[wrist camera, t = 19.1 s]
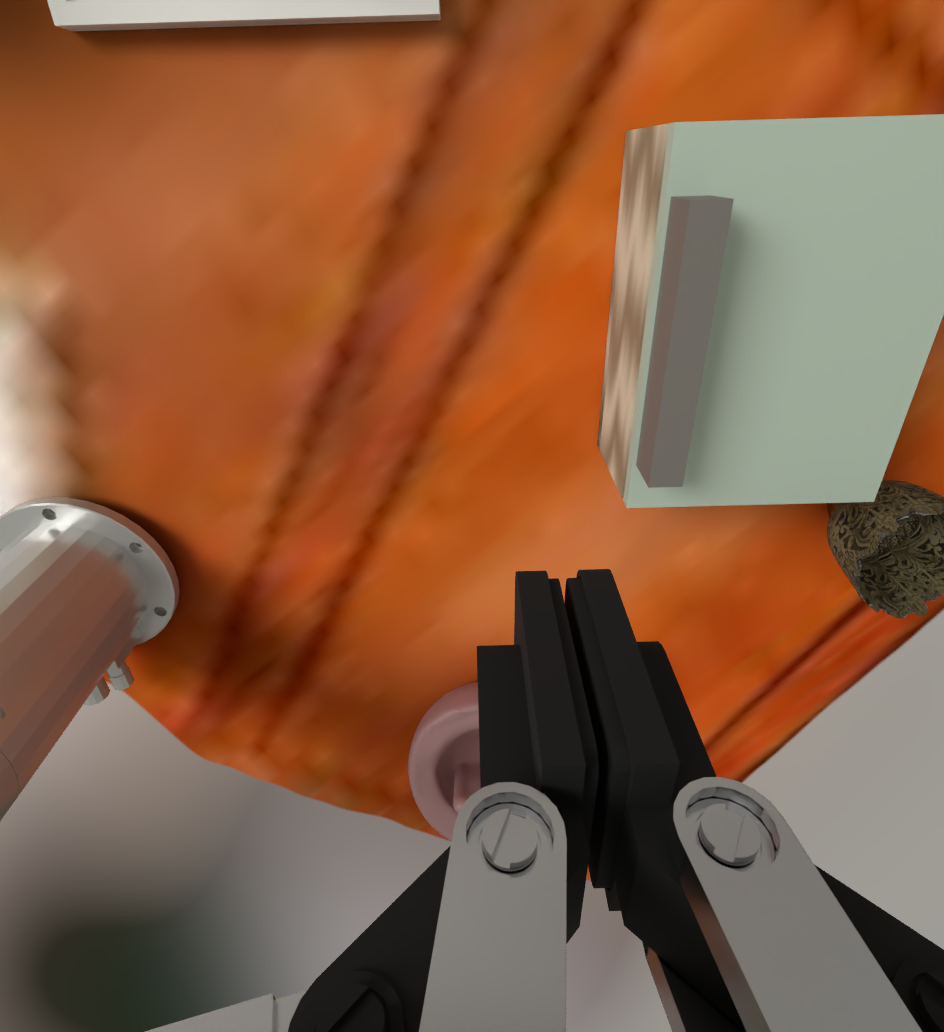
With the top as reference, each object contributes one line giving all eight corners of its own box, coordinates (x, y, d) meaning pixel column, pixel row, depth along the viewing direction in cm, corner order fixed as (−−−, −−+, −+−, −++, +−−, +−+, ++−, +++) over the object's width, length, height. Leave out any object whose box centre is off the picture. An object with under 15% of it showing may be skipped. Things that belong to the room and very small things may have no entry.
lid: (865, 494, 32) (902, 525, 29) (623, 500, 32) (637, 532, 29) (1002, 113, 23) (1074, 107, 20) (669, 123, 23) (696, 118, 21)
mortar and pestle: (540, 635, 47) (559, 762, 37) (568, 733, 53) (591, 864, 43) (395, 665, 48) (377, 794, 38) (439, 757, 54) (432, 889, 44)
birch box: (799, 439, 38) (861, 491, 32) (597, 444, 38) (621, 497, 32) (888, 123, 29) (996, 114, 23) (626, 131, 30) (666, 124, 24)
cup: (809, 560, 43) (874, 636, 36) (781, 483, 40) (846, 551, 33) (917, 515, 41) (1007, 586, 34) (897, 430, 38) (991, 490, 31)
